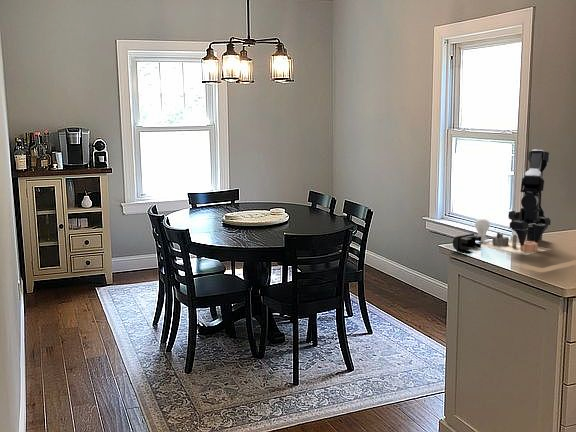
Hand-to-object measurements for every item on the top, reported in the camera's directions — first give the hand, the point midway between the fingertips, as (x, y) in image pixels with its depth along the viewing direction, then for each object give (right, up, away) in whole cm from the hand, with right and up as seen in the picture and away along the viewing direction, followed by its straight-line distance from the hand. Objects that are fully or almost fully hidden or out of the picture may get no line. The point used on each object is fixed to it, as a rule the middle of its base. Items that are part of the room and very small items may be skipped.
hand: (529, 244), depth 259 cm
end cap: (-23, -3, +7) cm, 25 cm away
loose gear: (0, -3, 0) cm, 3 cm away
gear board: (-4, -3, +7) cm, 8 cm away
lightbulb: (-12, -1, +23) cm, 26 cm away
